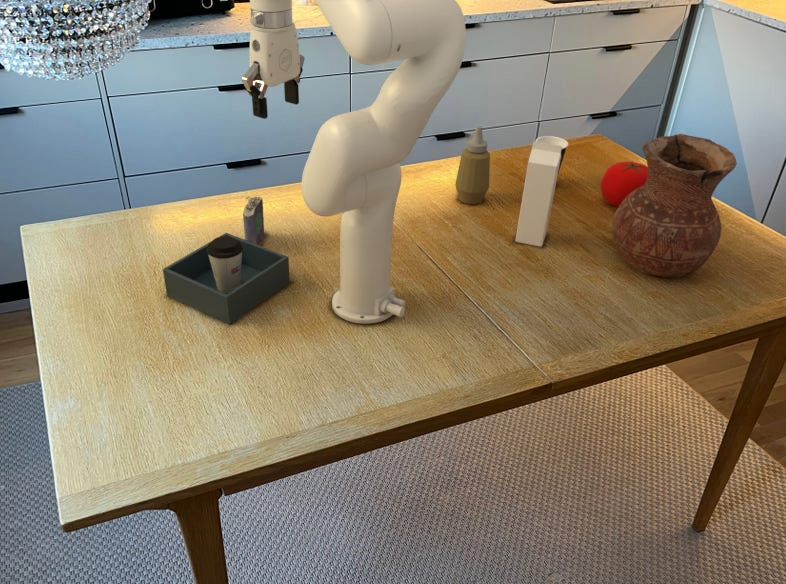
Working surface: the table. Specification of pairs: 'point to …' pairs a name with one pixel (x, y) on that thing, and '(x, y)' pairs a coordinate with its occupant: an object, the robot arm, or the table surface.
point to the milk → (538, 193)
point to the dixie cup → (554, 141)
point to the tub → (258, 282)
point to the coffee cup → (226, 262)
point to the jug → (673, 207)
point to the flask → (254, 220)
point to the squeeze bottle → (473, 170)
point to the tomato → (622, 181)
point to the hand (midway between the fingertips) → (276, 109)
